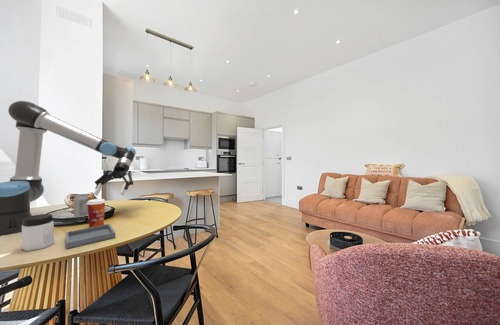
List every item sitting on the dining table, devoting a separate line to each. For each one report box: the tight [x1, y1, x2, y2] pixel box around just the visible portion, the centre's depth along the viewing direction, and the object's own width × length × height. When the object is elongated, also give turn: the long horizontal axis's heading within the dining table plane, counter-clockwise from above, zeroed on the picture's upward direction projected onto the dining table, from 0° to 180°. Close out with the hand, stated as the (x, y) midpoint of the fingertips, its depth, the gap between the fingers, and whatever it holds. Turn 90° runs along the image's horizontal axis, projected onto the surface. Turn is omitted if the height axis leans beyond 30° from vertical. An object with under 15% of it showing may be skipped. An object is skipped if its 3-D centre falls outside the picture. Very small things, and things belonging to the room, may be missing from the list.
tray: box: [65, 223, 116, 250], centre depth 86 cm, size 16×15×2 cm
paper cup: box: [87, 198, 107, 228], centre depth 99 cm, size 8×8×14 cm
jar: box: [21, 213, 55, 252], centre depth 78 cm, size 9×8×12 cm
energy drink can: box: [73, 193, 89, 218], centre depth 107 cm, size 6×6×15 cm
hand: (108, 194), depth 109 cm, fingers open, 13 cm apart
